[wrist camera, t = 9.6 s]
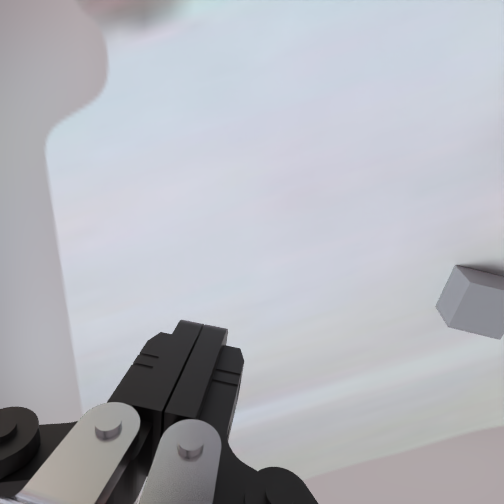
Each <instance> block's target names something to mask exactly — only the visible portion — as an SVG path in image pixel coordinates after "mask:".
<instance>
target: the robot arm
mask: <svg viewBox="0 0 504 504" xmlns="http://www.w3.org/2000/svg"><path fill="white" fill-rule="evenodd" d="M227 334H228V329H225V328H220V327H215V326H210V325H204V324H200V323H195V322H190V321H185V320H180V322H179V323H178V325H177V327H176V328H175V330H174V332H173V334H167V333H162V332H160V333H159V334H157V335H156V336H154V337H153V338H151V339H150V340H148V341H147V343H146V344H145V346H144V347H143V349H142V350H141V352H140V355H138V356H137V358H136V359H135V361H134V363H133V365H131V367H130V368H129V370H128V371H127V373H126V374H125V376H124V377H123V379H122V381H121V382H120V384H119V385H118V387H117V388H116V390H115V391H114V393H113V394H112V396H111V397H110V399H109V400H108V402H107V403H104V404H101V405H98V406H96V407H94V408H92V409H90V410H89V411H88V412H86V413H85V414H84V415H83V416H82V417H81V418H80V420H79V421H76V422H72V423H61V424H46V425H39V421H38V418H37V416H36V414H35V413H34V412H33V411H31V410H29V409H27V408H23V407H8V408H3V409H0V504H137V503H138V496H139V493H140V491H141V489H142V486H143V484H144V481H145V479H146V477H148V478H147V481H146V484H145V486H144V489H143V492H142V495H141V498H140V501H139V504H318V503H317V501H316V500H315V498H314V497H313V495H312V494H311V492H310V491H309V489H308V488H307V486H306V485H305V484H304V482H303V481H302V480H301V479H300V478H299V477H298V476H297V475H295V474H294V473H293V472H291V471H289V470H287V469H284V468H280V467H267V468H264V469H261V470H259V471H256V470H254V469H253V468H251V467H249V466H248V465H246V464H245V463H243V462H242V461H240V460H239V459H238V458H237V457H236V456H235V454H234V453H233V452H232V450H231V448H230V446H229V443H228V439H229V434H230V430H231V426H232V422H233V417H234V413H235V409H236V404H237V400H238V395H239V389H240V383H241V377H242V371H243V365H244V359H243V356H242V353H241V350H240V348H235V347H230V346H226V342H227Z"/></svg>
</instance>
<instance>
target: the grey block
mask: <svg viewBox="0 0 504 504" xmlns="http://www.w3.org/2000/svg"><path fill="white" fill-rule="evenodd" d="M436 308H437V310H438V311H439V313H440V315H441V316H442V318H443V320H444V321H445V323H446V325H447V326H448V327H450V328H454V329H458V330H462V331H466V332H470V333H474V334H478V335H483V336H487V337H491V338H495V339H499V340H500V339H501V337H502V336H503V334H504V276H499V275H495V274H491V273H487V272H482V271H478V270H474V269H469V268H465V267H461V266H457V265H455V266H454V268H453V270H452V273H451V275H450V277H449V279H448V281H447V283H446V285H445V287H444V290H443V292H442V294H441V296H440V298H439V300H438V302H437V304H436Z"/></svg>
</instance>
